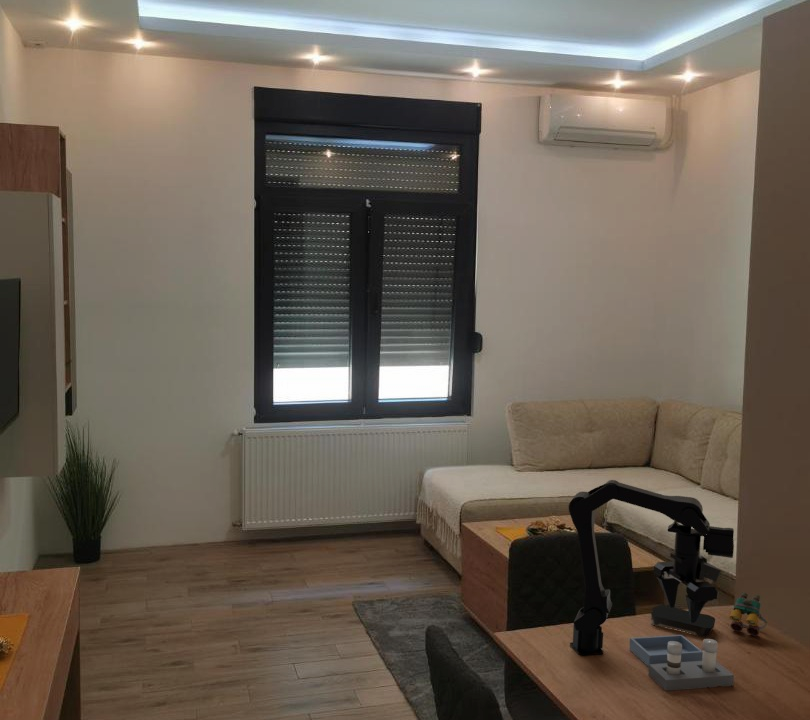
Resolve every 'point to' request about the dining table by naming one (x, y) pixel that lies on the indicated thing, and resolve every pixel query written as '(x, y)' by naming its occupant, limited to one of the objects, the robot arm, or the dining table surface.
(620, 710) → the dining table surface
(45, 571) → the dining table surface
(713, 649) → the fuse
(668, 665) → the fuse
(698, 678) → the fuse holder
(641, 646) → the parts tray
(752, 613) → the binoculars
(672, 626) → the black sponge
